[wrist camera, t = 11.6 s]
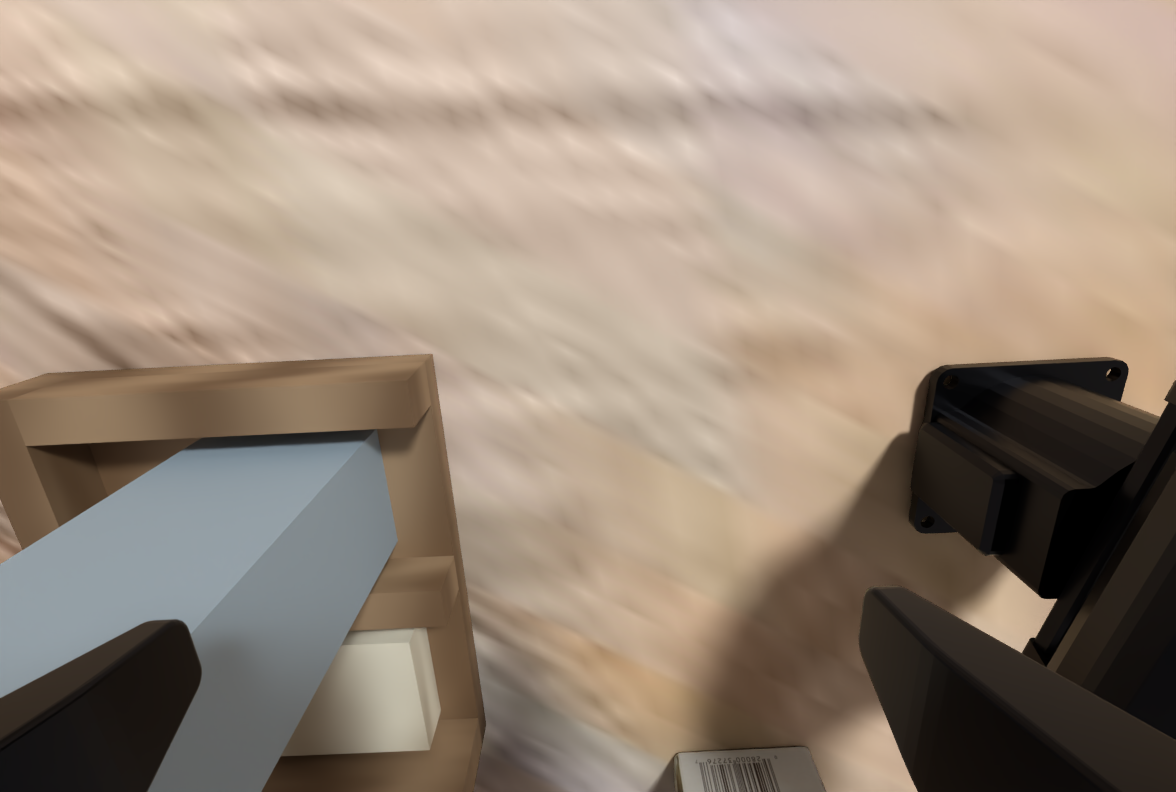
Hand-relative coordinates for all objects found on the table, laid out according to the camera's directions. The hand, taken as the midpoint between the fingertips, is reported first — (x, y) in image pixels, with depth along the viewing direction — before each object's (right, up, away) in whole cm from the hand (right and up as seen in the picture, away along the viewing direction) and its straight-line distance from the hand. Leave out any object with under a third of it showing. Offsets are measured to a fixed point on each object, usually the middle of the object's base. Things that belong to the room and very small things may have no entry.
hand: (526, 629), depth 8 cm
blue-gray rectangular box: (-9, 0, +13) cm, 16 cm away
